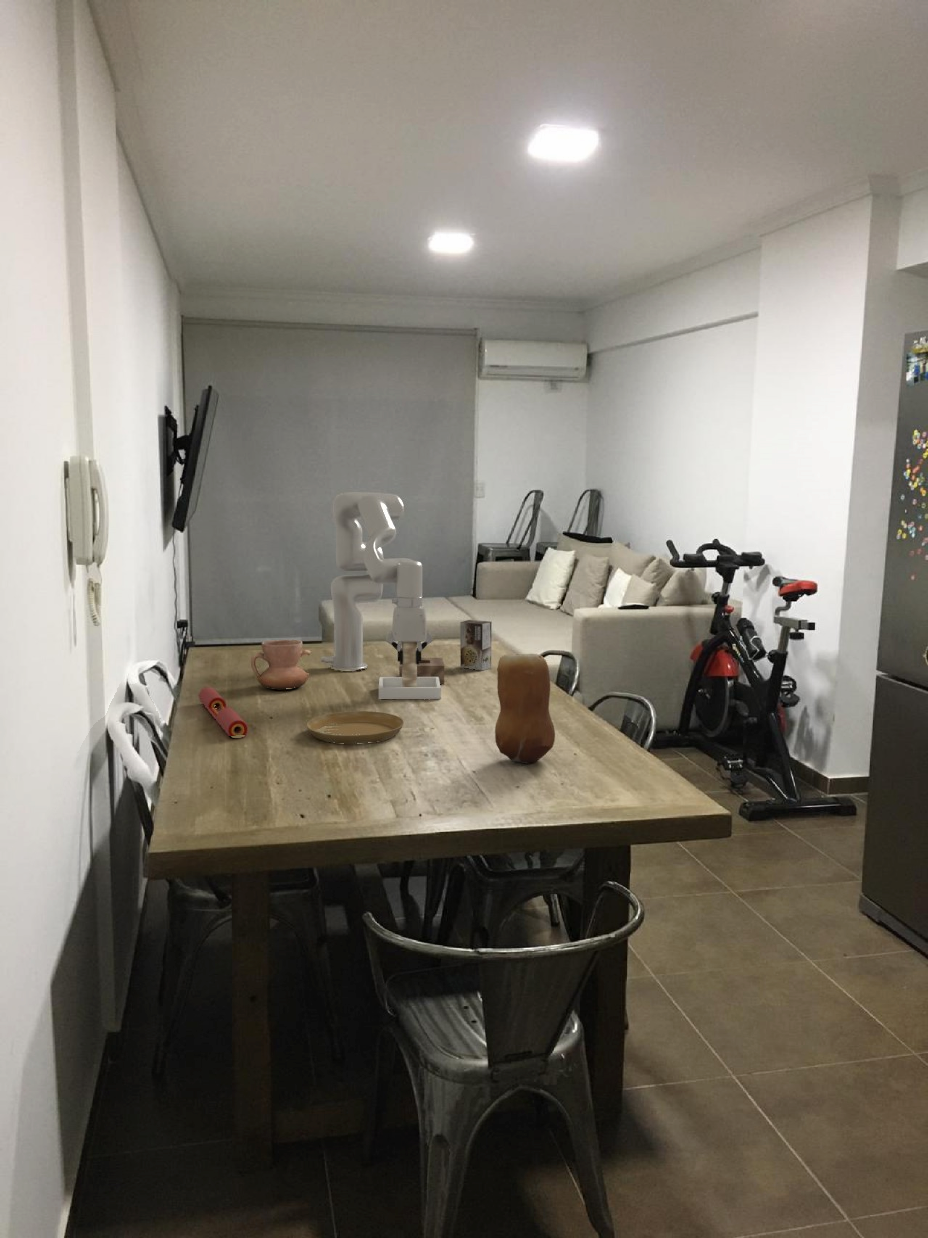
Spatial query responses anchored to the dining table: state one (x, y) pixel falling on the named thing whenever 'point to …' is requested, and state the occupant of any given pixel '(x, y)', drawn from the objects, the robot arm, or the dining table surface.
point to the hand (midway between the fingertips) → (409, 663)
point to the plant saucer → (356, 726)
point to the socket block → (429, 668)
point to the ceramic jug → (281, 664)
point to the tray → (409, 688)
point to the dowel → (409, 664)
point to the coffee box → (475, 644)
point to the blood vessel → (223, 712)
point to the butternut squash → (524, 708)
